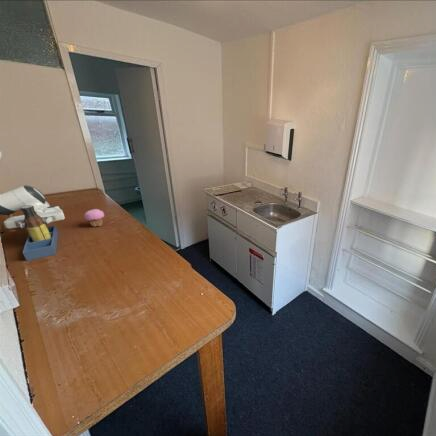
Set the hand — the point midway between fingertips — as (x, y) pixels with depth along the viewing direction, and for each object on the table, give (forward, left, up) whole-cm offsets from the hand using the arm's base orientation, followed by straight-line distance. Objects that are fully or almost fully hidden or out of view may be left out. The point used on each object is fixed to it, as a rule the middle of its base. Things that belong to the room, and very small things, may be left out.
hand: (34, 224), depth 109 cm
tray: (0, +1, -12) cm, 12 cm away
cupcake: (+21, +14, -12) cm, 28 cm away
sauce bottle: (0, +1, -11) cm, 11 cm away
